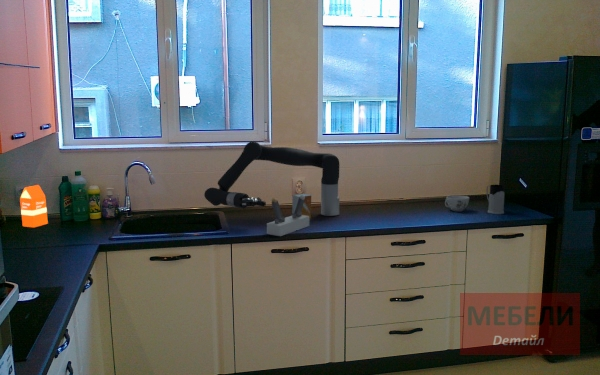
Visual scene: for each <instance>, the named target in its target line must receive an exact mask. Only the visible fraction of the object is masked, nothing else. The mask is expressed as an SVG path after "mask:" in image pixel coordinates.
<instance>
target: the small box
mask: <svg viewBox="0 0 600 375" xmlns="http://www.w3.org/2000/svg"><path fill="white" fill-rule="evenodd" d="M301 195H304V196H305V200H304V203H303V206H302V210H301V212H302V215H305V216H309V221H310V220H312V194H307V193H302V194H301V193H299V194H293V195H292V206H291V207H292V210H291V211H292V214H294V212H295V209H296V206H297V203H298V200H299V198H300V196H301ZM292 214H291V215H292Z"/></svg>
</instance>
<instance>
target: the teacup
mask: <svg viewBox="0 0 600 375" xmlns="http://www.w3.org/2000/svg"><path fill="white" fill-rule="evenodd" d="M470 198H471V197H469V196H467V195H458V194H457V195H456V194H450V195H446V198H445V201H444V205H445V207H446V208H449V209H451V211H454V212H463V211H464V210H465V209H466V208H467V206H468V205H469V203H470Z"/></svg>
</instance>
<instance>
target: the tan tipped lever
mask: <svg viewBox="0 0 600 375" xmlns="http://www.w3.org/2000/svg"><path fill="white" fill-rule="evenodd" d="M271 206H272V208H273V212H274V216H275V219H278V220H279V222H281V221H283V220H284V218H283V217H284V216H283V213H282V211H281V208H280V204H279V200H278V199H277V198H276V197H272V199H271Z"/></svg>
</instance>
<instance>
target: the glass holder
mask: <svg viewBox="0 0 600 375" xmlns="http://www.w3.org/2000/svg"><path fill="white" fill-rule="evenodd" d="M505 187H506V186H505V185H503V184H490V185H487V186H486V189H485V190H486V191H485V192H486V198H487V201H488V210H487V213H488V214H492V215H493V214H495V215H502V214H505V211H504V207H505V206H504V205H505V189H506V188H505ZM488 189H489V191H488ZM488 192H489V194H488Z"/></svg>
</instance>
